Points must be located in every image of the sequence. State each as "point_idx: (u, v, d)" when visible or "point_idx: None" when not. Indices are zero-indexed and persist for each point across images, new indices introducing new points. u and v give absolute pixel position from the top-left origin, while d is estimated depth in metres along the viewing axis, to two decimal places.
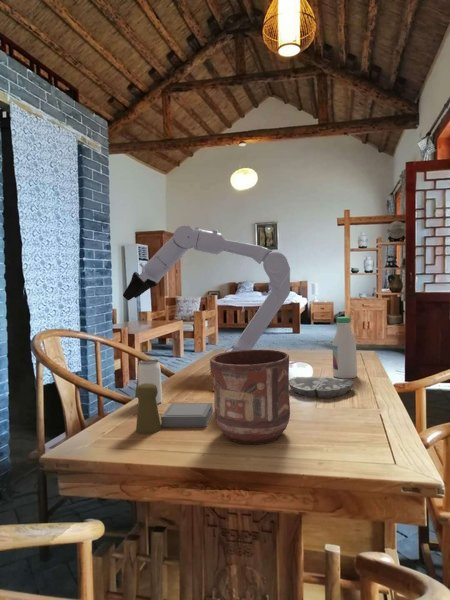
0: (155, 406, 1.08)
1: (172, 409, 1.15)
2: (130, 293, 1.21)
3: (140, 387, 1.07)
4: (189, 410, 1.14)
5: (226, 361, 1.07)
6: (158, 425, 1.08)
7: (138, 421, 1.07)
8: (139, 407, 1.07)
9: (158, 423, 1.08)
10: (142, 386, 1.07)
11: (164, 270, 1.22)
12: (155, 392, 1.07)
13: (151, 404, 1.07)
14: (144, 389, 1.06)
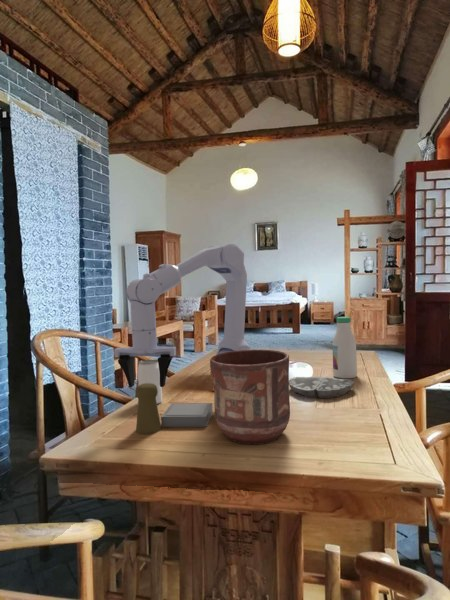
0: (155, 406, 1.08)
1: (172, 409, 1.15)
2: (164, 377, 1.08)
3: (140, 387, 1.07)
4: (189, 410, 1.14)
5: (226, 361, 1.07)
6: (158, 425, 1.08)
7: (138, 421, 1.07)
8: (139, 407, 1.07)
9: (158, 423, 1.08)
10: (142, 386, 1.07)
11: None
12: (155, 392, 1.07)
13: (151, 404, 1.07)
14: (144, 389, 1.06)
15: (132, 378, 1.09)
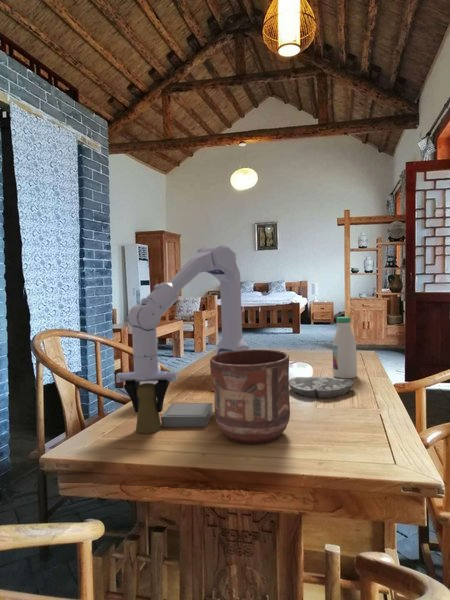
0: (155, 406, 1.08)
1: (172, 409, 1.15)
2: (161, 402, 1.09)
3: (141, 387, 1.07)
4: (189, 410, 1.14)
5: (226, 361, 1.07)
6: (158, 425, 1.08)
7: (138, 421, 1.07)
8: (139, 407, 1.07)
9: (158, 423, 1.08)
10: (143, 386, 1.07)
11: None
12: None
13: (151, 404, 1.07)
14: (145, 389, 1.06)
15: (138, 403, 1.09)
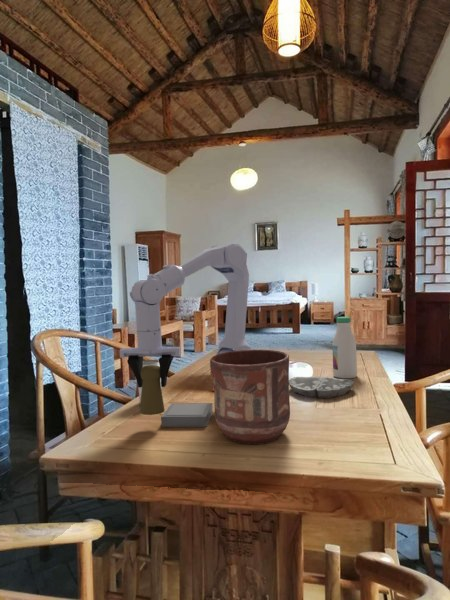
0: (159, 388, 1.08)
1: (172, 409, 1.15)
2: (165, 377, 1.09)
3: (145, 368, 1.07)
4: (189, 410, 1.14)
5: (226, 361, 1.07)
6: (161, 407, 1.08)
7: (142, 402, 1.07)
8: (143, 388, 1.07)
9: (161, 404, 1.08)
10: (147, 367, 1.07)
11: None
12: (159, 373, 1.07)
13: (155, 386, 1.07)
14: (149, 370, 1.06)
15: (141, 378, 1.09)
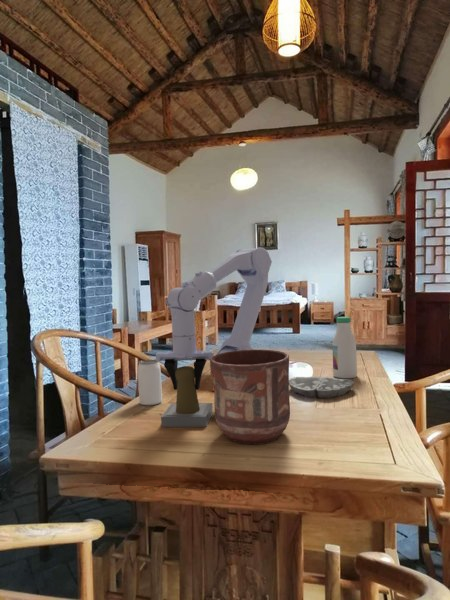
0: (194, 387, 1.13)
1: (172, 409, 1.15)
2: (199, 380, 1.14)
3: (179, 369, 1.12)
4: None
5: (226, 361, 1.07)
6: (197, 405, 1.13)
7: (178, 402, 1.12)
8: (179, 388, 1.12)
9: (196, 403, 1.13)
10: (181, 368, 1.12)
11: None
12: (194, 374, 1.12)
13: (190, 386, 1.12)
14: (184, 371, 1.11)
15: (176, 380, 1.15)
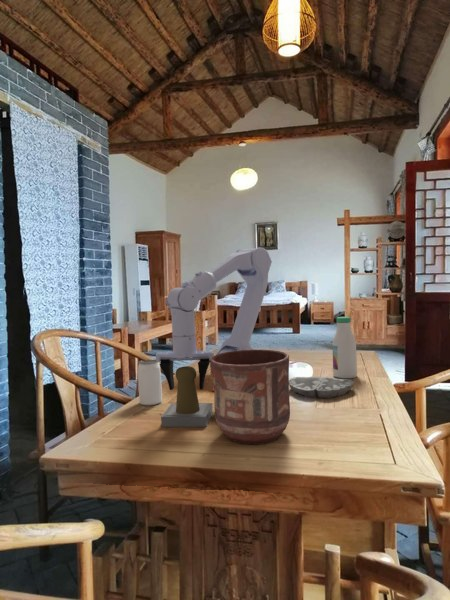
0: (194, 388, 1.13)
1: (172, 409, 1.15)
2: (203, 380, 1.14)
3: (180, 369, 1.12)
4: None
5: (226, 361, 1.07)
6: (197, 406, 1.13)
7: (178, 402, 1.12)
8: (179, 388, 1.12)
9: (197, 404, 1.13)
10: (182, 368, 1.12)
11: None
12: (194, 374, 1.12)
13: (190, 386, 1.12)
14: (184, 371, 1.11)
15: (172, 381, 1.15)
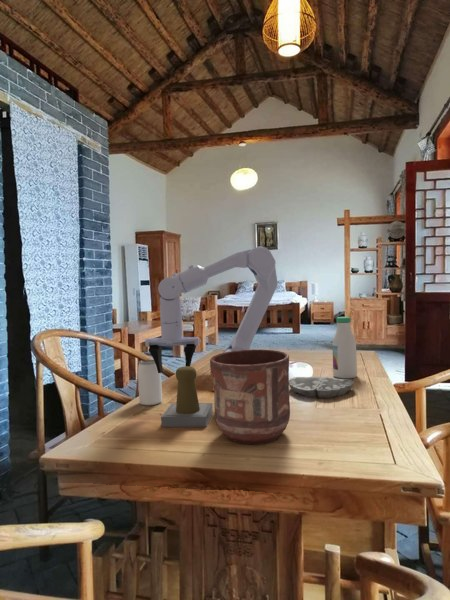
0: (194, 388, 1.13)
1: (172, 409, 1.15)
2: (189, 364, 1.23)
3: (180, 369, 1.12)
4: None
5: (226, 361, 1.07)
6: (197, 406, 1.13)
7: (178, 402, 1.12)
8: (179, 388, 1.12)
9: (197, 404, 1.13)
10: (182, 368, 1.12)
11: None
12: (194, 374, 1.12)
13: (190, 386, 1.12)
14: (184, 371, 1.11)
15: (160, 365, 1.23)
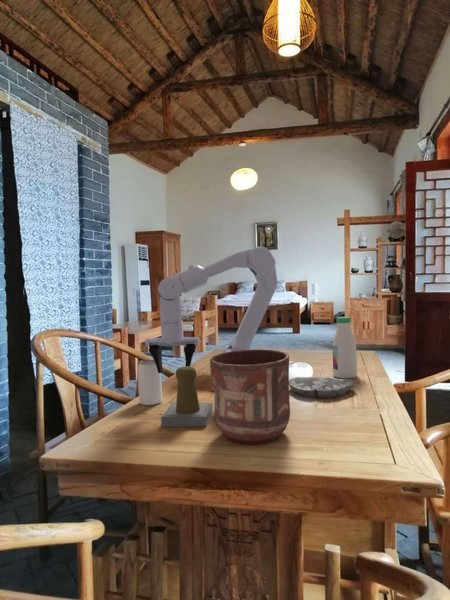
0: (194, 388, 1.13)
1: (172, 409, 1.15)
2: (189, 364, 1.23)
3: (180, 369, 1.12)
4: None
5: (226, 361, 1.07)
6: (197, 406, 1.13)
7: (178, 402, 1.12)
8: (179, 388, 1.12)
9: (197, 404, 1.13)
10: (182, 368, 1.12)
11: None
12: (194, 374, 1.12)
13: (190, 386, 1.12)
14: (184, 371, 1.11)
15: (160, 365, 1.23)
